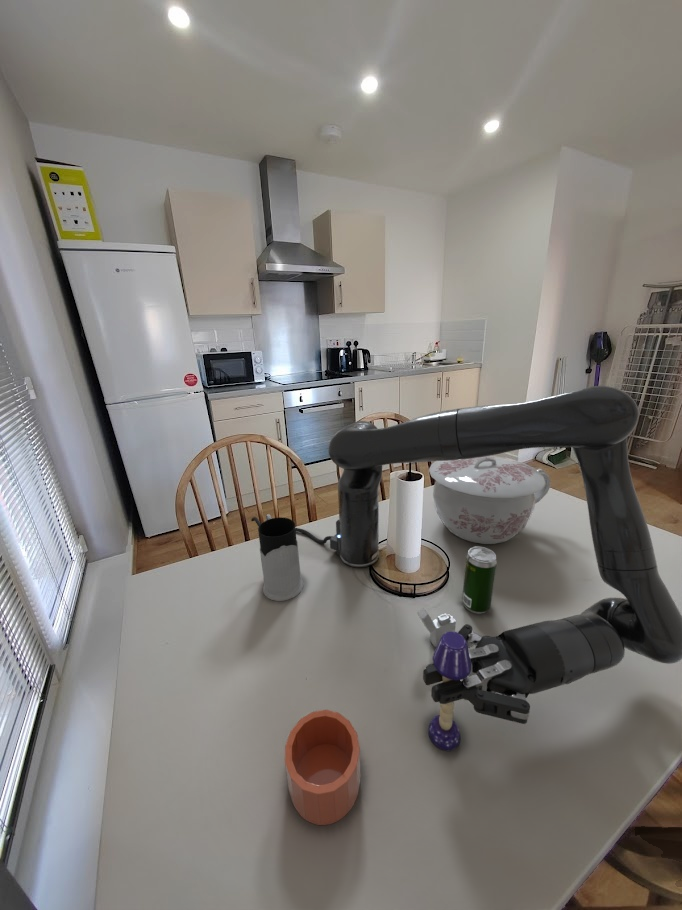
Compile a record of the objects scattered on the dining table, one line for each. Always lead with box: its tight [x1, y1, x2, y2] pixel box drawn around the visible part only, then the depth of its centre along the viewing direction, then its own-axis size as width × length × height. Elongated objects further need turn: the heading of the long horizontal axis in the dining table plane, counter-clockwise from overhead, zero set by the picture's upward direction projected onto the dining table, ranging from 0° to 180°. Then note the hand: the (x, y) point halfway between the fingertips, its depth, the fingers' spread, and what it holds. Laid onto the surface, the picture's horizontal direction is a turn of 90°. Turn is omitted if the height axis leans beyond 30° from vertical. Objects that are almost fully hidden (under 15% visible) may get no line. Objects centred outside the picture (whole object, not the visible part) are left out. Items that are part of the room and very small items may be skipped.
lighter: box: [416, 607, 457, 648], centre depth 61 cm, size 7×2×8 cm, turn 111°
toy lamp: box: [427, 631, 471, 752], centre depth 46 cm, size 5×5×17 cm
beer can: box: [461, 546, 498, 615], centre depth 69 cm, size 5×5×12 cm
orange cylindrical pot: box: [284, 709, 361, 826], centre depth 43 cm, size 9×9×6 cm
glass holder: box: [257, 513, 304, 602], centre depth 77 cm, size 9×14×15 cm, turn 24°
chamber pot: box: [428, 455, 552, 545], centre depth 92 cm, size 28×28×21 cm
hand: (429, 685), depth 45 cm, fingers closed on toy lamp
